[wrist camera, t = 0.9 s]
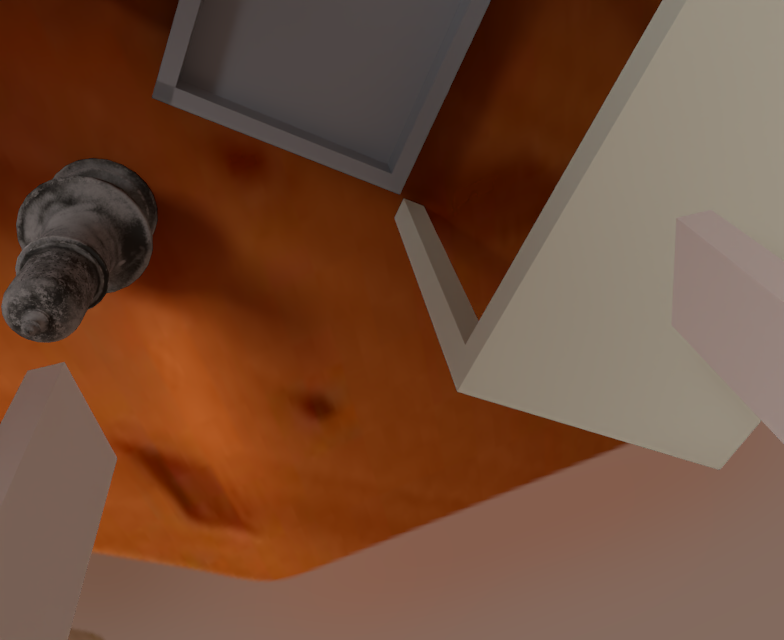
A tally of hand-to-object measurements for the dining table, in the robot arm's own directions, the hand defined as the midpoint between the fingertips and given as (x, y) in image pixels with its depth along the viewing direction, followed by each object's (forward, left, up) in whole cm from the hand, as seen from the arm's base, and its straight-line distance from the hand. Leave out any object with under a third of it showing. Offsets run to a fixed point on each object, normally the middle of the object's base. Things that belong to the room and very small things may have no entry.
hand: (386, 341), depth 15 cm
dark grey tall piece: (-9, -9, -22) cm, 25 cm away
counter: (+11, +4, -22) cm, 25 cm away
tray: (-4, +4, -22) cm, 22 cm away
